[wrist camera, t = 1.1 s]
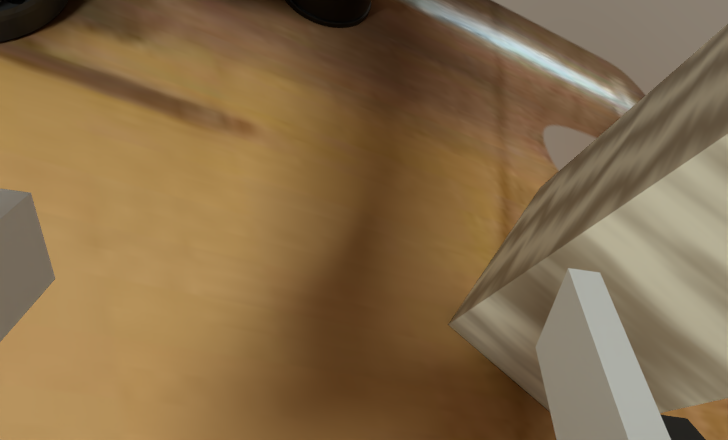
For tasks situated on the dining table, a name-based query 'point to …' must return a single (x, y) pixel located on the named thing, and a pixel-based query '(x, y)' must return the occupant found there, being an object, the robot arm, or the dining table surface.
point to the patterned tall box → (629, 242)
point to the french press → (332, 11)
